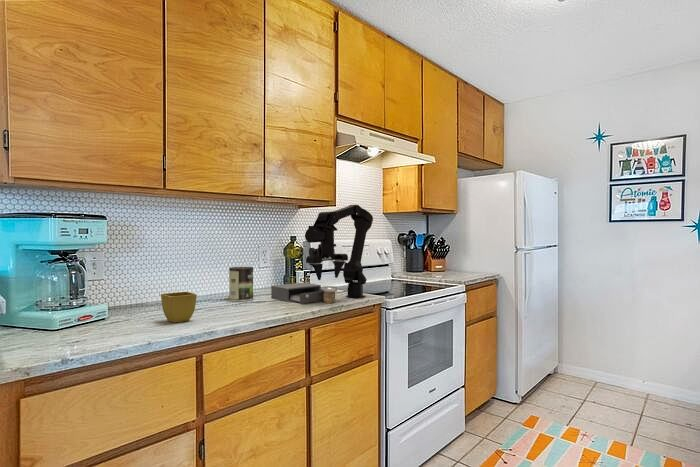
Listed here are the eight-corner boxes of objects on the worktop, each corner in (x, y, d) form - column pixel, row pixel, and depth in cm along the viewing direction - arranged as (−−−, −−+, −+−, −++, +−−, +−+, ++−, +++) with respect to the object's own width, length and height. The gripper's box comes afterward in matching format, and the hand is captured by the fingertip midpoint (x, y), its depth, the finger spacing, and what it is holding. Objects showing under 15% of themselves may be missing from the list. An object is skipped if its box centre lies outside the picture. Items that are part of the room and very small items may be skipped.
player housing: (304, 293, 190) (304, 282, 190) (322, 297, 180) (322, 285, 180) (271, 298, 178) (271, 285, 178) (288, 302, 168) (288, 289, 168)
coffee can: (256, 297, 179) (256, 266, 179) (249, 301, 169) (249, 268, 169) (233, 297, 179) (233, 266, 179) (225, 301, 169) (225, 268, 169)
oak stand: (329, 301, 170) (329, 289, 170) (336, 302, 167) (336, 291, 167) (321, 302, 167) (321, 290, 167) (328, 303, 164) (328, 292, 164)
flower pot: (186, 317, 138) (186, 291, 138) (197, 320, 132) (197, 293, 132) (160, 320, 132) (160, 293, 132) (170, 325, 126) (170, 296, 126)
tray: (317, 295, 183) (317, 287, 183) (335, 298, 173) (335, 290, 173) (284, 299, 171) (284, 290, 171) (301, 303, 161) (301, 294, 161)
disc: (330, 289, 172) (330, 285, 172) (340, 291, 167) (340, 287, 167) (317, 290, 167) (317, 286, 167) (327, 292, 162) (327, 288, 162)
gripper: (331, 240, 179) (332, 275, 179) (297, 242, 166) (298, 279, 167) (348, 241, 171) (349, 277, 171) (314, 242, 158) (314, 282, 159)
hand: (327, 278), depth 167 cm, fingers open, 9 cm apart
